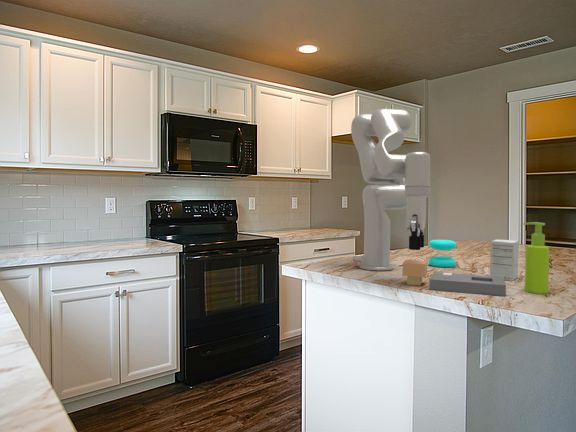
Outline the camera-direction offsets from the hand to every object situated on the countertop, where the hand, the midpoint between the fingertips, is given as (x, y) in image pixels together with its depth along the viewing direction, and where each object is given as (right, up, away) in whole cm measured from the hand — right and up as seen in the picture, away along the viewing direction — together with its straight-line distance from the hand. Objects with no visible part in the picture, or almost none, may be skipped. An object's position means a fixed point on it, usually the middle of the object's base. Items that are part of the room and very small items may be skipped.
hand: (416, 248), depth 136 cm
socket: (+14, -11, -5) cm, 18 cm away
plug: (0, -11, +1) cm, 11 cm away
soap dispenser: (+32, -12, -8) cm, 35 cm away
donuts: (+21, -10, +38) cm, 44 cm away
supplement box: (+33, -11, +13) cm, 37 cm away
